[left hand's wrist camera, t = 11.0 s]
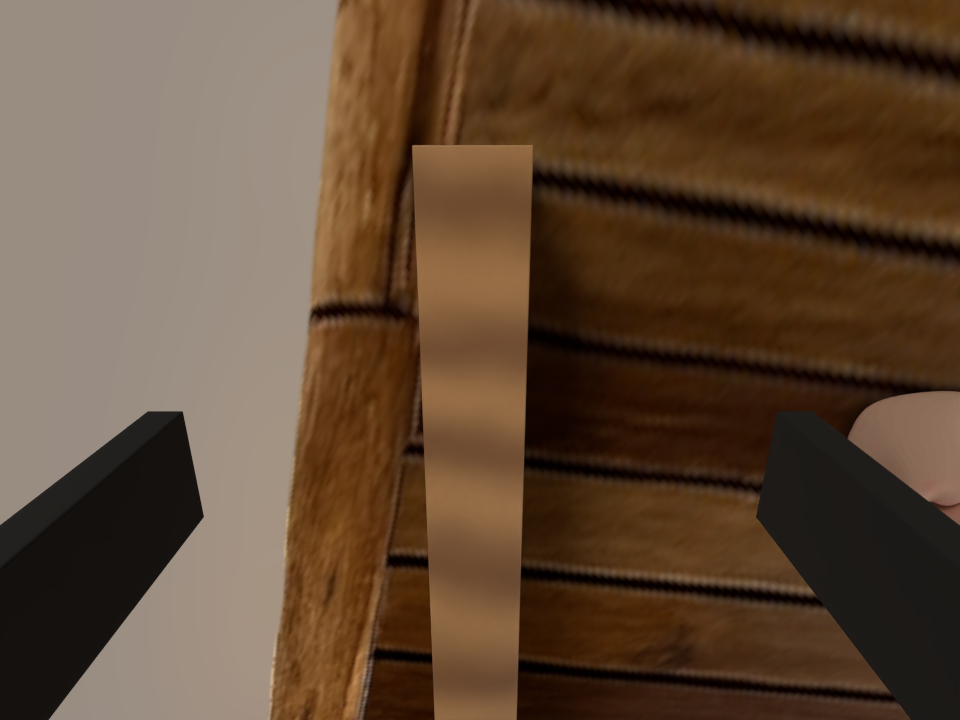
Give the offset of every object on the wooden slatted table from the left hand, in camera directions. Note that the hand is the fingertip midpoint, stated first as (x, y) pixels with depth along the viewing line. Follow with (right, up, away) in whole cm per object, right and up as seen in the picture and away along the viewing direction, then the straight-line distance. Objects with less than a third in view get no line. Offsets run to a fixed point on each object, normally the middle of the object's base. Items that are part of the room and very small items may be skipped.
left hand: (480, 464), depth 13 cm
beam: (0, -16, +27) cm, 31 cm away
